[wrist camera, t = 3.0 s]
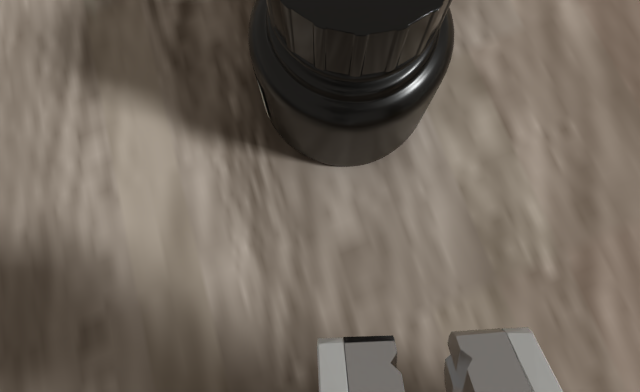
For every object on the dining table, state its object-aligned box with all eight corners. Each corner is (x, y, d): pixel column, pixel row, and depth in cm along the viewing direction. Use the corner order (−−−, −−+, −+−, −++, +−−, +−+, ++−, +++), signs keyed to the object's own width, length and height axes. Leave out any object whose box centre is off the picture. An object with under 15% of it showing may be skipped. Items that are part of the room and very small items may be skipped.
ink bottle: (340, -16, 29) (353, -229, 17) (461, 77, 28) (564, -84, 16) (225, 105, 28) (155, -40, 16) (348, 208, 26) (371, 134, 15)
